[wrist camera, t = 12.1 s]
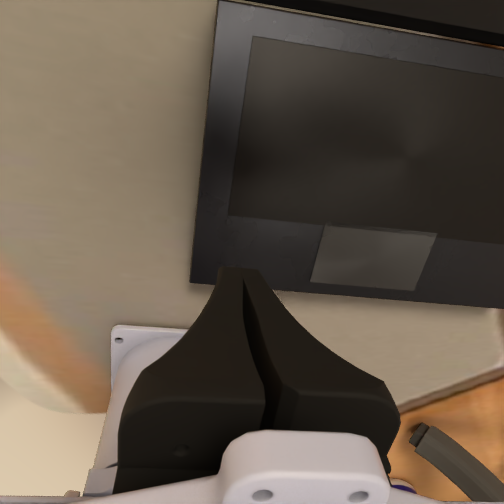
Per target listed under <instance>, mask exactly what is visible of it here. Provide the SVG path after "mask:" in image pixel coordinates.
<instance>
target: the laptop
mask: <svg viewBox="0 0 504 504" xmlns="http://www.w3.org/2000/svg"><path fill="white" fill-rule="evenodd" d="M222 266H226V267H238V268H249V269H258V270H259V272H260V273H261V274H262V276H263V277H264V279H265V280H266V282H267V283H268V285H269V286H270V288H271V289H272V290H282V291H294V292H306V293H318V294H330V295H342V296H354V297H366V298H378V299H390V300H402V301H414V302H426V303H438V304H450V305H462V306H474V307H486V308H498V309H504V49H499V48H494V47H488V46H482V45H477V44H471V43H466V42H460V41H454V40H449V39H443V38H437V37H432V36H426V35H421V34H415V33H409V32H404V31H398V30H392V29H387V28H381V27H376V26H370V25H364V24H359V23H353V22H348V21H342V20H336V19H331V18H325V17H319V16H314V15H308V14H303V13H297V12H291V11H286V10H280V9H275V8H269V7H263V6H258V5H252V4H246V3H241V2H235V1H230V0H217V9H216V19H215V29H214V39H213V49H212V59H211V69H210V79H209V89H208V99H207V109H206V119H205V129H204V139H203V149H202V159H201V169H200V178H199V188H198V198H197V208H196V218H195V228H194V238H193V248H192V258H191V268H190V281H189V282H190V283H198V284H210V285H216V282H217V276H218V269H219V268H220V267H222Z"/></svg>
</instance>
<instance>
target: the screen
mask: <svg viewBox="0 0 504 504" xmlns="http://www.w3.org/2000/svg"><path fill="white" fill-rule="evenodd" d="M245 1H251V2H256V3H262V4H268V5H273V6H279V7H284V8H290V9H296V10H301V11H307V12H312V13H318V14H324V15H329V16H335V17H340V18H346V19H351V20H357V21H363V22H368V23H374V24H379V25H385V26H391V27H396V28H402V29H407V30H413V31H419V32H424V33H430V34H435V35H441V36H446V37H452V38H458V39H463V40H469V41H474V42H480V43H486V44H491V45H497V46H502V47H504V0H245Z"/></svg>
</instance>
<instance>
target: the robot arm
mask: <svg viewBox="0 0 504 504" xmlns="http://www.w3.org/2000/svg"><path fill="white" fill-rule="evenodd" d="M117 338H122V339H121V340H119V339H117ZM400 424H401V421H400V414H399V411H398V409H397V407H396V405H395V402H394V400H393V398H392V396H391V394H390V392H389V390H388V388H387V387H386V385H385V383H384V381H382V380H380V379H378V378H376V377H374V376H372V375H370V374H368V373H366V372H365V371H363V370H361V369H359V368H357V367H355V366H354V365H352V364H351V363H349V362H347V361H346V360H344V359H342V358H341V357H340V356H338V355H337V354H335V353H334V352H332V351H331V350H330V349H328V348H327V347H326V346H324V345H323V344H322V343H320V342H319V341H318V340H317V339H316V338H314V337H313V336H312V335H311V334H310V333H309V332H308V331H307V330H306V329H305V328H304V327H302V326H301V325H300V324H299V323H298V322H297V321H296V319H295V318H294V317H293V316H292V315H291V314H290V313H289V312H288V310H287V309H286V308H285V307H284V305H283V304H282V303H281V302H280V300H279V299H278V298H277V296H276V295H275V294H274V292H273V291H272V289H271V288H270V286H269V285H268V283H267V282H266V280H265V279H264V277H263V276H262V274H261V273H260V272H259V270H258V269H249V268H238V267H226V266H222V267H220V268H219V269H218V276H217V282H216V285H215V287H214V290H213V292H212V294H211V296H210V298H209V300H208V302H207V304H206V305H205V307H204V309H203V310H202V312H201V314H200V315H199V317H198V318H197V320H196V321H195V322H194V324H193V325H192V326H191V327H190V329H175V328H160V327H145V326H130V325H116V326H114V327H113V328H112V331H111V398H110V402H109V406H108V410H107V414H106V418H105V422H104V426H103V430H102V434H101V438H100V442H99V446H98V450H97V454H96V458H95V461H94V466H93V468H92V469H90V470H89V473H88V477H87V481H86V484H85V488H84V492H83V496H82V497H80V492H78V491H72V490H70V491H67V492H66V493H65V495H64V496H0V504H504V502H461V501H439V500H435V499H432V498H428V497H425V496H421V495H418V494H414V493H410V492H407V491H403V490H400V489H396V488H393V487H392V484H391V481H390V478H389V476H388V474H390V472H391V466H390V463H389V460H388V458H387V454H388V452H389V450H390V448H391V445H392V443H393V441H394V439H395V437H396V435H397V433H398V431H399V427H400Z"/></svg>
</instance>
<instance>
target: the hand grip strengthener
mask: <svg viewBox="0 0 504 504" xmlns="http://www.w3.org/2000/svg"><path fill="white" fill-rule="evenodd" d="M409 443H411V444H412V445H414V446H415V447H416V449H415V452H416V453H418V454H419V455H420V456H422V457H423V458H425V459H426V460H427V461H429V462H430V463H431V464H432V465H434V466H435V467H436V468H437V469H439V470H440V471H441V472H442V473H443V474H444V475H445V476H446V477H448V478H449V479H450V480H451V481H452V482H453V483H454V484H455V485H457V486H458V487H459V488H460V489H461V490H462V491H463V492H464V493H465V494H466V495H467V496H468V497H469V498H470V499H471V500H472V501H473V502H504V484H503V483H502V482H501V481H500V480H499V479H498V478H497V477H496V476H495V475H494V474H493V473H492V472H491V471H490V470H488V469H487V468H486V467H485V466H484V465H483V464H482V463H481V462H480V461H478V460H477V459H476V458H475V457H474V456H472V455H471V454H470V453H469V452H468V451H466V450H465V449H464V448H463V447H462V446H460V445H459V444H458V443H457V442H456V441H454V440H453V439H452V438H450V437H449V436H448V435H446V434H445V433H443V432H442V431H441V430H439V429H438V428H436V427H434V426H431V427H429V426H427V425H426V424H424V423H421V424H420V426H419V427H418V428H417V429H416V431H415V432H414V434H413V435H412V437H411V438H410V440H409Z"/></svg>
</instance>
